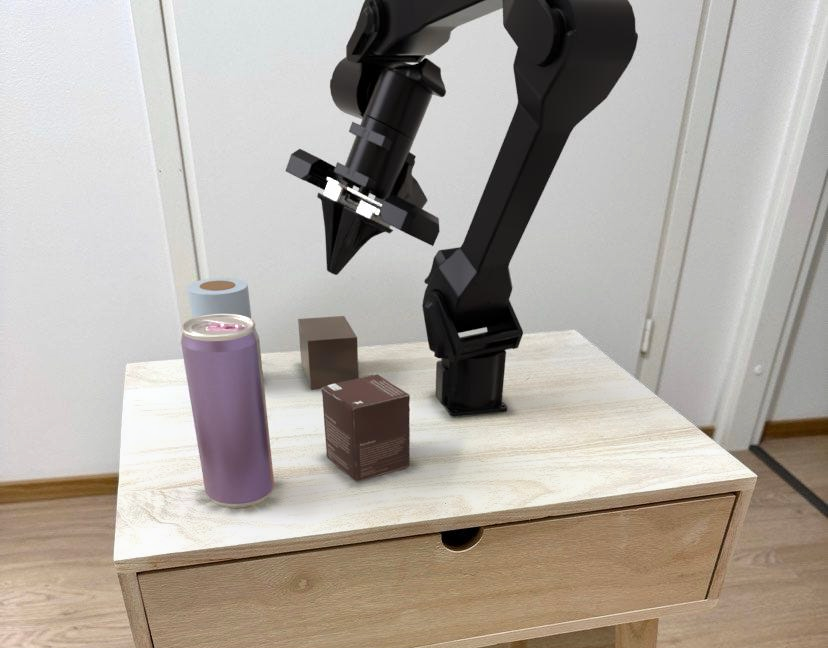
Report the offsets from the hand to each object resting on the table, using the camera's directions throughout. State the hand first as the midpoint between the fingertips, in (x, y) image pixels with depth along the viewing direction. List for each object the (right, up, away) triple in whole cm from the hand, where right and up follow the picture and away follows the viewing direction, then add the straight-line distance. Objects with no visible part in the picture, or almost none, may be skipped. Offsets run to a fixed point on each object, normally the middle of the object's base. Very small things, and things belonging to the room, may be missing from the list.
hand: (331, 273), depth 85 cm
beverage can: (-6, -26, -18) cm, 32 cm away
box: (+5, -23, -13) cm, 27 cm away
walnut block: (-1, -10, +5) cm, 12 cm away
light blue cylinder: (-8, -10, +3) cm, 13 cm away
